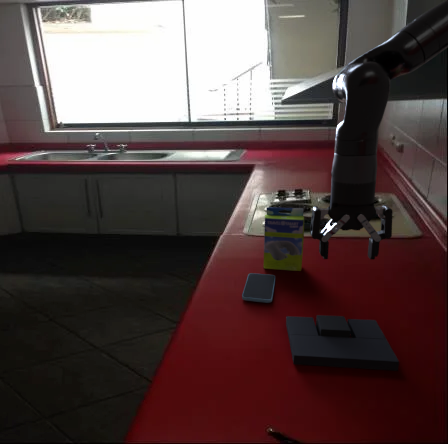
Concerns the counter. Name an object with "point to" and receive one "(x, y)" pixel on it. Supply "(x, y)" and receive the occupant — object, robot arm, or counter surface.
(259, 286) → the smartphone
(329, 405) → the counter surface
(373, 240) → the robot arm
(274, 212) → the box
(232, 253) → the counter surface
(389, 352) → the u-shaped block
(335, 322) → the dark grey square block
